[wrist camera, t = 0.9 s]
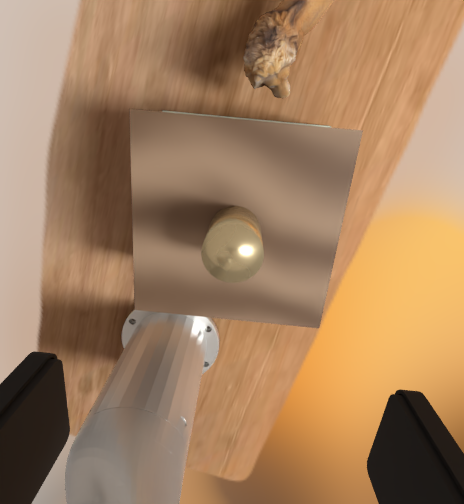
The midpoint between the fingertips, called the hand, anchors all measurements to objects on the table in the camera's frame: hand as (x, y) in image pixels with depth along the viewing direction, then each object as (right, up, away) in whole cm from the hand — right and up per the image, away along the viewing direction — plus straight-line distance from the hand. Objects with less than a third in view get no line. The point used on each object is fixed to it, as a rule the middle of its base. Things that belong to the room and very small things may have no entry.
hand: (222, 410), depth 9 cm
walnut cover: (+1, +10, +26) cm, 28 cm away
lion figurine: (+7, +25, +21) cm, 33 cm away
